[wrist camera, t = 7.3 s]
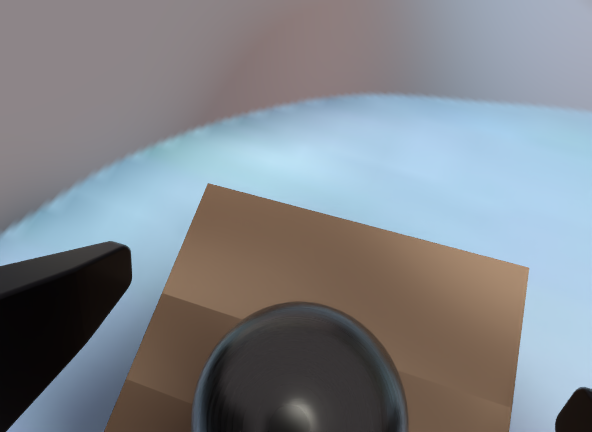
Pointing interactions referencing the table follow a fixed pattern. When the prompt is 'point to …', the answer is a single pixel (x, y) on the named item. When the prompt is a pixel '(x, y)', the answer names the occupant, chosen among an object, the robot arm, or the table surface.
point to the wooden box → (338, 294)
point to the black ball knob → (299, 376)
